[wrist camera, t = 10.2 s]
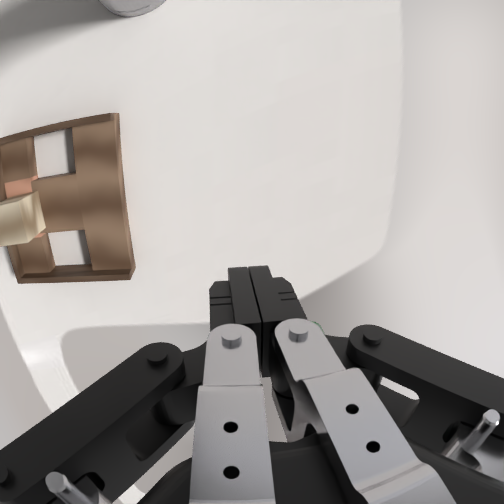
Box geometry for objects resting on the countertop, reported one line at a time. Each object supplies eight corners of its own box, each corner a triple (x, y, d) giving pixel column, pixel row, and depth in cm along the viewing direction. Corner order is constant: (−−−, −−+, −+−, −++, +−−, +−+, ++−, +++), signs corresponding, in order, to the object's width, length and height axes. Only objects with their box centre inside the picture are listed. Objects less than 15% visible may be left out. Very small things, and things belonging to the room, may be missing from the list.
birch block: (10, 196, 32) (-11, 208, 27) (37, 190, 32) (18, 201, 27) (18, 232, 34) (-1, 246, 29) (45, 227, 34) (28, 242, 30)
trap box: (3, 138, 30) (-11, 141, 27) (119, 113, 32) (110, 113, 29) (28, 272, 38) (18, 283, 35) (135, 267, 40) (130, 279, 37)
